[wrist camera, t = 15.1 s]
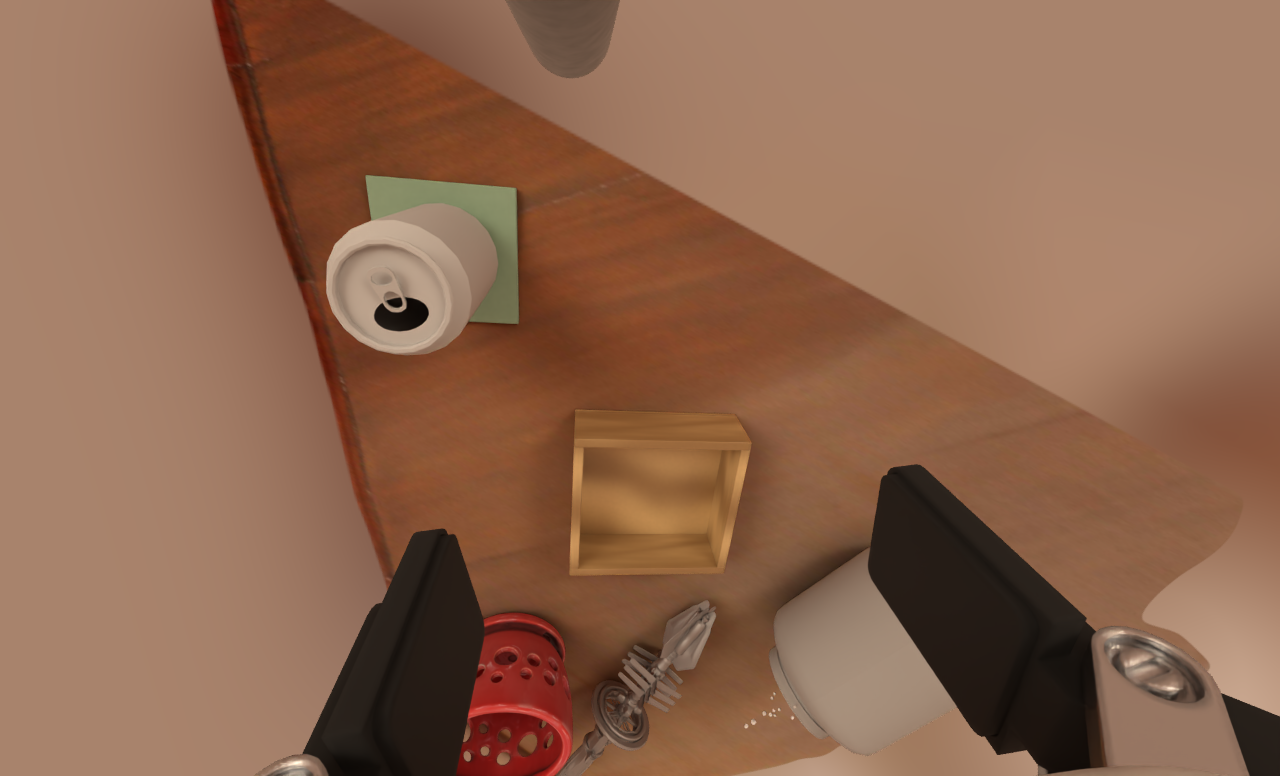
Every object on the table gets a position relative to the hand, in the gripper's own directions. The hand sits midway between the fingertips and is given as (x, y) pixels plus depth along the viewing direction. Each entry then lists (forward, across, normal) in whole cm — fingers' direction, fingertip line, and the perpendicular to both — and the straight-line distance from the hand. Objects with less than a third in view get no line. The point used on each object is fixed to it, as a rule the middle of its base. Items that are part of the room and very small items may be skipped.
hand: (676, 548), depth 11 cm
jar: (+31, -20, +43) cm, 56 cm away
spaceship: (+31, +5, +50) cm, 59 cm away
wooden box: (+30, -2, +21) cm, 37 cm away
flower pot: (+31, +15, +40) cm, 53 cm away
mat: (+30, +12, -2) cm, 33 cm away
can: (+30, +12, -2) cm, 32 cm away
